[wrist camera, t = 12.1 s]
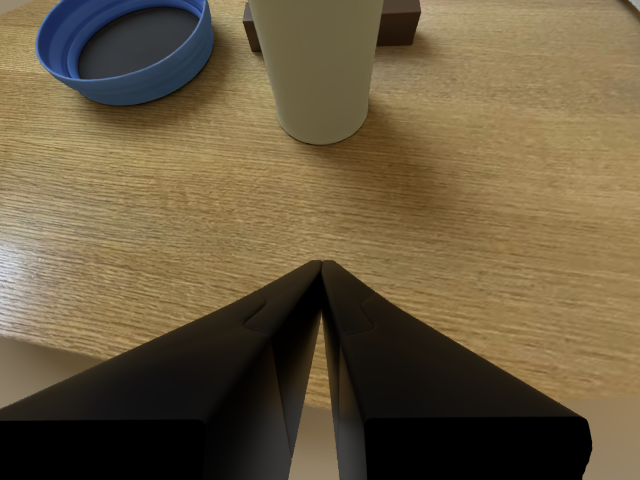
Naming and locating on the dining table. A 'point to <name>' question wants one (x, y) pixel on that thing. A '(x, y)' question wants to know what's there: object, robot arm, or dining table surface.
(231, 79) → the dining table surface
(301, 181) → the dining table surface
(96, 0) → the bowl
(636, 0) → the fork
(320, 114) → the can
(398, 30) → the rail
